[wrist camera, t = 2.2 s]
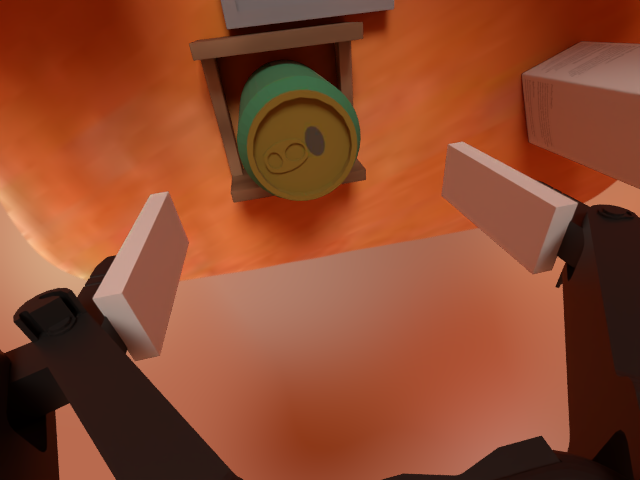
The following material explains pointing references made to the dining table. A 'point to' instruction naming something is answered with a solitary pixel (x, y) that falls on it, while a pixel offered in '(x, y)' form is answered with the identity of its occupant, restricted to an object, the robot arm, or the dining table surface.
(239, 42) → the caddy
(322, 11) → the tray
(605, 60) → the skincare box
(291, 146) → the beverage can
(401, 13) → the dining table surface
